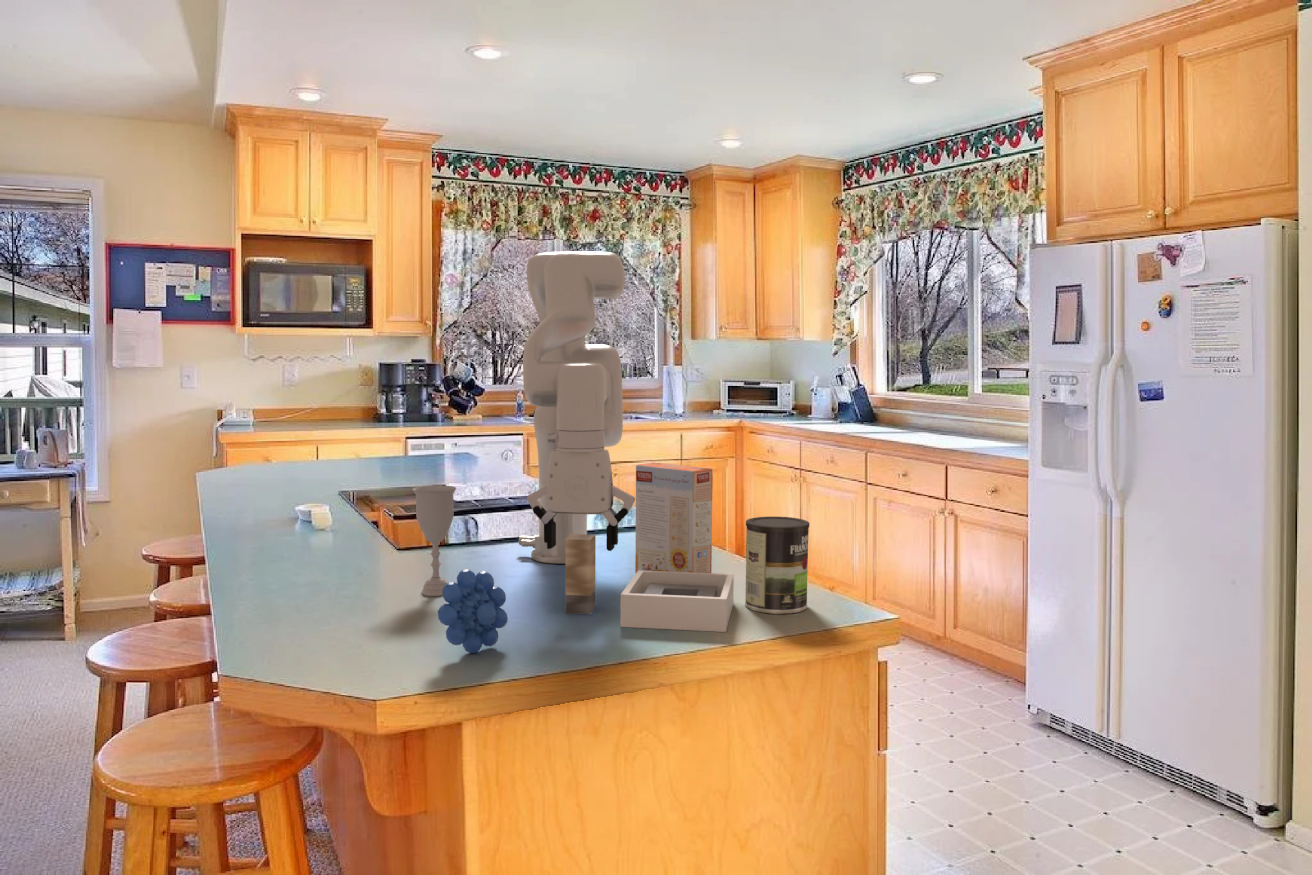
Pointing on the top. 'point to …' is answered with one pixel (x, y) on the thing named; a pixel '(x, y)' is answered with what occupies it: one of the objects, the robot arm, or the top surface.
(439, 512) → the chalice
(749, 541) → the coffee can
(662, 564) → the cracker box
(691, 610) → the walled box
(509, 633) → the top surface
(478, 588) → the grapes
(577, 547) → the peg
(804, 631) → the top surface
